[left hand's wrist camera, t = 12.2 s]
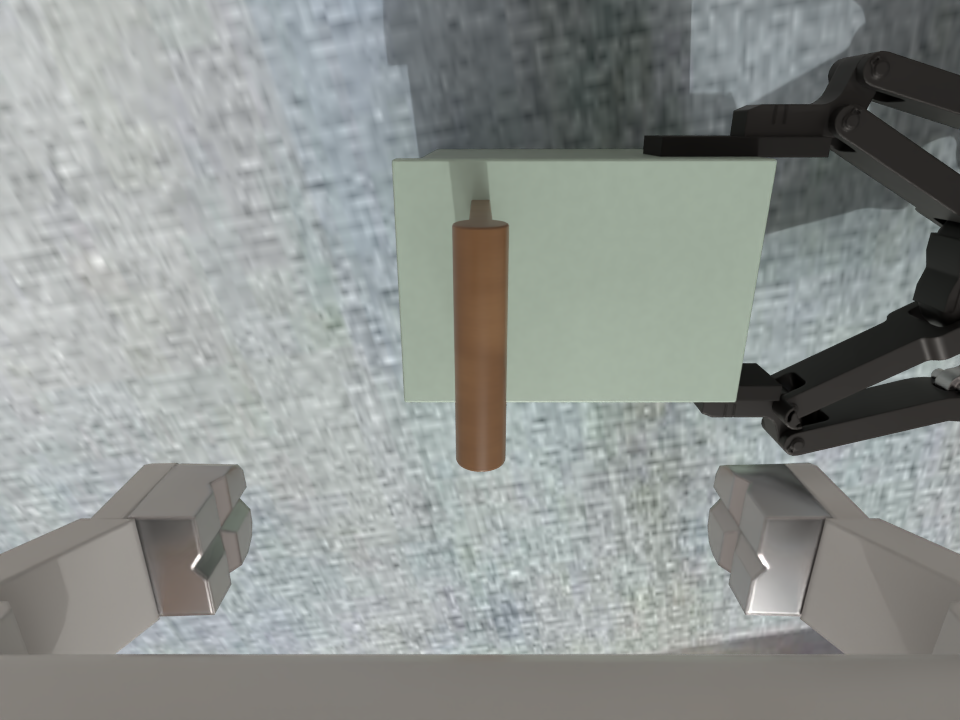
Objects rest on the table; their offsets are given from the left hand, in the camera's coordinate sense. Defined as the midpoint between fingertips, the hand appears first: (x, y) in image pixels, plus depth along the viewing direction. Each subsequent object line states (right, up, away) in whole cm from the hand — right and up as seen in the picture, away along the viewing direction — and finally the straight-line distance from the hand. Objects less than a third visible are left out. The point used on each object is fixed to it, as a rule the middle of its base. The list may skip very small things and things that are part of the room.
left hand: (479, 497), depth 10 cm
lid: (+4, +5, +14) cm, 15 cm away
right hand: (+7, +6, +16) cm, 18 cm away
